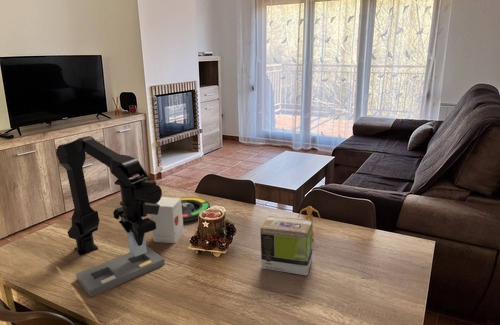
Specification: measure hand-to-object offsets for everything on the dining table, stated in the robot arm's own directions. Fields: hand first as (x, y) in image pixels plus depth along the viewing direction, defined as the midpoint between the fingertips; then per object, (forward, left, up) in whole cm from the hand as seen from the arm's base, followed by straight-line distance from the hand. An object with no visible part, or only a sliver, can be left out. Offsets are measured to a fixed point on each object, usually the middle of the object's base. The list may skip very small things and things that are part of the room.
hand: (137, 243), depth 117 cm
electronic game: (-26, +34, -9) cm, 44 cm away
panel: (0, -6, -8) cm, 10 cm away
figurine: (+27, +55, -9) cm, 62 cm away
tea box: (+34, +35, -9) cm, 49 cm away
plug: (0, 0, -3) cm, 3 cm away
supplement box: (-10, +17, -9) cm, 21 cm away
